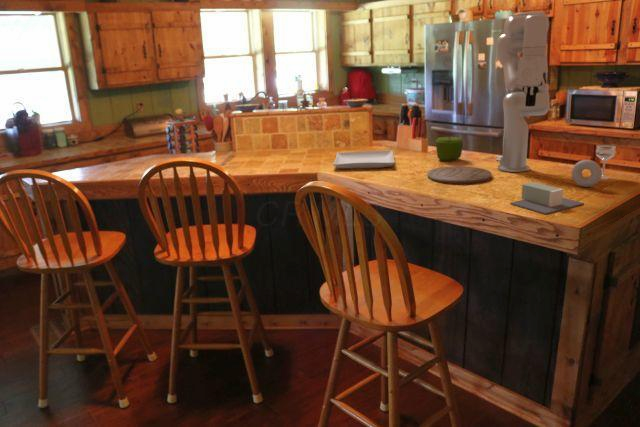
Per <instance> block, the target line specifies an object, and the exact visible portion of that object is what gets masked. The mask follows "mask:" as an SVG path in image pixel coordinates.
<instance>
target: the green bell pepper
mask: <svg viewBox="0 0 640 427" xmlns="http://www.w3.org/2000/svg"><path fill="white" fill-rule="evenodd" d="M463 146H464V141H463V139H462V138H460V137H458V136H443V137H442V136H441V137H438V138H436V140H435V148H436V156H437V159H439V160H440V161H441V162H453V161H456V160H458V159H459V158H461V156H462V151H463Z"/></svg>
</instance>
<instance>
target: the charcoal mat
mask: <svg viewBox="0 0 640 427" xmlns="http://www.w3.org/2000/svg"><path fill="white" fill-rule="evenodd" d="M509 204H510V205H513V206H514V207H518V208H521V209H525V210H528V211H532V212H535V213H538V214H542V215H549V214H552V213H557V212H560V211H565V210H568V209H572V208H575V207H579V206H580V207H581V206H583V205H584V202H581V201H577V200H573V199H570V198H566V197H563V198H562V204H561V205H557V206H553V207H549V206H546V205H542V204H539V203H535V202H531V201H528V200H524V199H521V200H517V201H513V202H510V203H509Z"/></svg>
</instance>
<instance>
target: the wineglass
mask: <svg viewBox="0 0 640 427" xmlns="http://www.w3.org/2000/svg"><path fill="white" fill-rule="evenodd" d="M616 148H617V146H616V145H613V144H597V145H596V149H595V155H596V157H597V158H599V159H600V160H602V162H603V163H602V176H601V179H600V180H605V179H606V180H607V179H611V177H610V176H607V175H604V173H605V168H606V162H607V161H608V160H611V159H612V158H614V156H615V155H616V152H617V151H616Z"/></svg>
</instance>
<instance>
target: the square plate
mask: <svg viewBox="0 0 640 427" xmlns="http://www.w3.org/2000/svg"><path fill="white" fill-rule="evenodd" d="M395 163H396V162H395V158H394V151H393V150H363V151H362V150H360V151H359V150H357V151H344V152H341V151H340V152H337V153H336V157H335V160H334V161H333V166H334V167H335V168H337V169H342V170H343V169H345V170H351V169H352V170H353V169H354V170H357V169H382V168H388V167H392V166H393V165H394V164H395Z"/></svg>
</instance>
